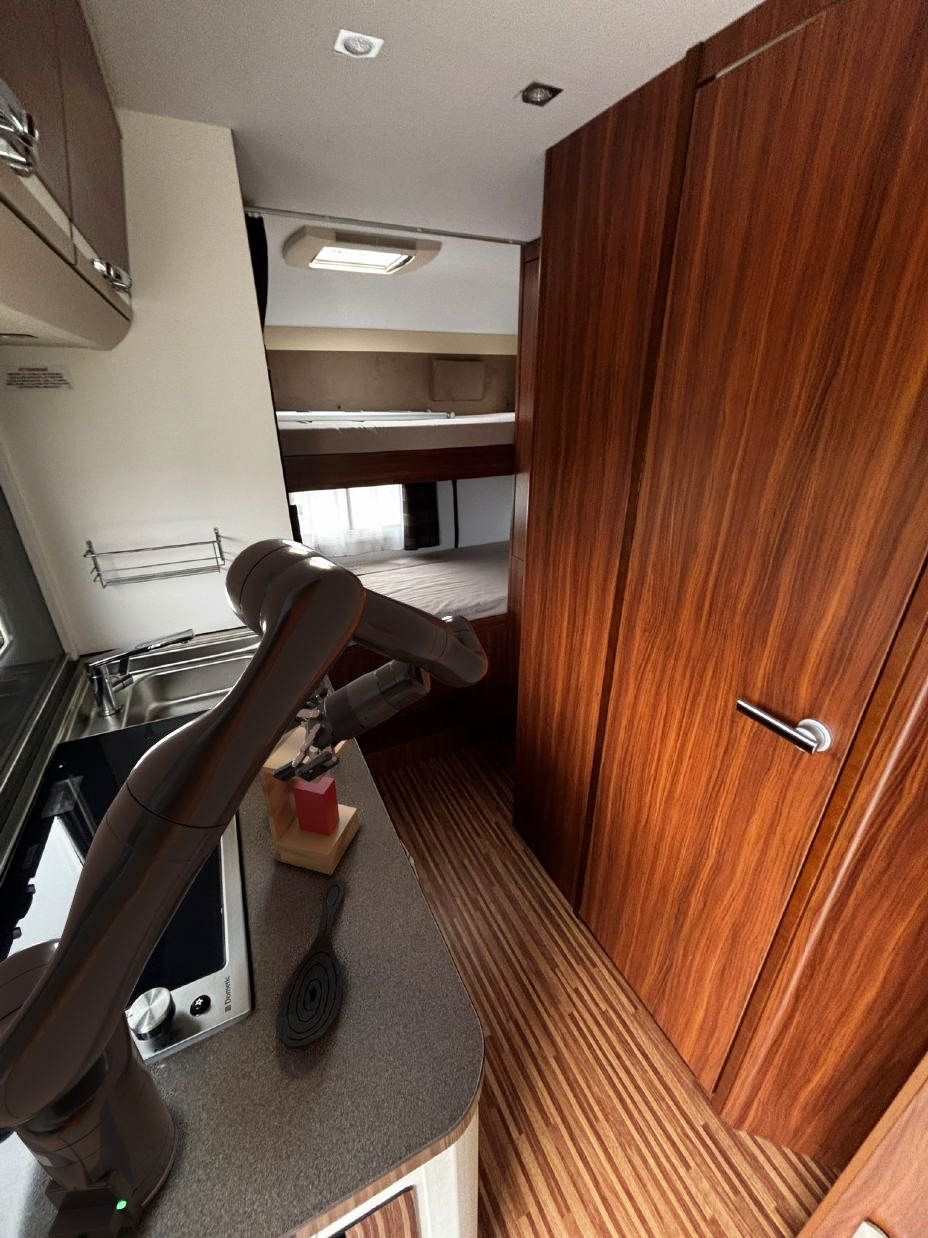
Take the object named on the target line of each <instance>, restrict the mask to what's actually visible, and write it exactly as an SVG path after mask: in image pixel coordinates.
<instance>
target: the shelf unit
mask: <svg viewBox="0 0 928 1238" xmlns="http://www.w3.org/2000/svg"><path fill="white" fill-rule="evenodd" d="M305 735H306V729H305V728H303V727H296V728H294V729H293V730H291V731H290V732H289V733H288V734H287V735H286V736H285V737H284V738H283V739H282V740H281V741H280V742H279V743H278V744H277V745H276V747H275V748H274V750H273V752H272V753H271V755H270V756H269V758H268V759H267V761H266V763H265V764H264V766H263V767H262V769H261V770H260V772H259V774H258V776H259V780H260V784H261V785H260V786H261V789H262V794H263V799H264V805H265V810H266V809H267V812H266V815H267V814H268V815H267V818H268V824H269V828H270V832H271V838H272V842H273V848H274V851H275V856H276V861H277V862H280V863H281V862H282V863H284V864H289V865H293V866H296V867H300V868H304V869H307V870H311V871H316V872H319V873H322V874H326V875H330V876H332V875H333V873H334V871H335V869H336V867H337V866H338V864H339V862H340V861H341V858H342V857H343V855H344V854H345V852H346V850H347V848H348V847H349V846H350V843H351V842H352V841H353V838H354V837H355V835H356V833H357V832H358V830H359V828H360V824H359V815H358V808H356V807H353V806H349V805H345V804H344V805H343V804H339V803H338V810H339V818H340V820H339V822H338V823H337V825H336V826H335V828H334V830H333V831H332V833H331V834H330V836H325V835H321V834H317V833H313V832H309V831H305V830H301V829H300V827H299V822H298V816H297V810H296V804H295V799H294V793H293V786H294V785H295V784H296V783H297V781H298V780H302V781H305V780H304V779H302V778H300V777H298V776H295V777H293V778H291V779H289V780H288V781H286V782H283V781H280V780H278V779H276V778H274V777H273V771H274V770H276V769H278V768H280V767H282V766H283V765H285V764H287V763H289V762H290V761H294V760H295V758H296V757H297V756H298V754H299V753H300V747H301V746H302V744H303V743H304V742H305ZM350 742H351V740H345V741H341V742H340V743H339V744H338V745H337V746H336V747H335V754H336V756H337V757H338V758H340V756H341V754H342V753H343V752H344V750H345V749H346V747H348V745H349V743H350ZM317 749H318V748H315V747H313V746H311V747H310V750H311V751H312V752H315V751H317ZM308 758H309V756H306V758H305V759H304V760H303V763H305V762H306V761H307V759H308ZM310 772H311V771H310ZM327 772H328V771H327ZM327 772H325V773H323V774H322V775H320V776H318V777H317V778H315V779H314V780H312V781H310V782H312V783H316V784H318V783H319V782H320V781H321V779H322V778H323V777H324V776H325V775H327Z"/></svg>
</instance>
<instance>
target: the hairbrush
mask: <svg viewBox="0 0 928 1238" xmlns="http://www.w3.org/2000/svg"><path fill="white" fill-rule="evenodd" d="M344 897H345V886H344V884H343V883H342V881H341V880H335V881H333V882H332V883H331V884H329V885H328V886H327V887H326V889H325V891H324V893H323V896H322V898H321V899H322V901H321V914H320V919H319V925H318V930H317V934H316V937H314V940H313V942H312V944H311V946H310V947H309V949H308V951H307V952H306V954H305V955H304V956H303V958H302V959H301V961H300V963H299V964H298V965H297V967H296V968H295V970H294V971H293V973H292V974H291V976H290V979H289V981H288V983H287V986H286V988H285V990H284V992H283V994H282V998H281V1000H280V1004H279V1007H278V1012H277V1016H276V1036H277V1038H278V1042H280V1044H281V1045H282V1046H284V1047H285V1048H286V1049H288V1050H297V1051H303V1050H304V1051H305V1050H307V1049H308V1048H310V1047H312V1046H314V1045H315V1044H317V1043H319V1042H320V1041H322V1040H324V1039H325V1038H326V1037H327V1035H328V1033H329V1032H330V1030H331V1029H332V1028H333V1026H334V1024H335V1023H336V1021H337V1020H338V1019H339V1014H340V1009H341V1006H342V999H343V998H342V997H343V993H344V982H343V981H344V980H343V975H342V974H343V973H342V969H341V964H340V962H339V958H338V957H337V956H338V955H337V954H336V950H335V949H334V947H333V942H332V937H331V935H332V932H333V928H334V924H335V920H336V916H337V914H338V912H339V910H340V907H342V904H343V902H344ZM314 991H316V995H315V997H314V999H313V1001H312V1002H311V996H312V994H313V992H314Z"/></svg>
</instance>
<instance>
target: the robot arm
mask: <svg viewBox="0 0 928 1238" xmlns="http://www.w3.org/2000/svg"><path fill="white" fill-rule="evenodd" d="M224 582H225V584H224V588H225V589H224V590H225V596H226V599H227V603H228V605H229V607H230V609H231V610H232V612H233V613H234V615H235V616H236V617H237V618H238V619H239V620H240V622H241V623H242V624H243V625H244V626H245V627H246V628H248V629H249V630H250V631H251V632H253V633H254V634H255V635H256V636H257V637H259V638H260V639H261V640H260V642H259V645H258V647H257V648H256V650H255V652H254V654H253V656H252V657H251V659H250V660H249V662H248V664H247V665H246V667H245V669H244V670H243V672H242V674H240V677H239V678H238V680H237V681H236V682H235V684H234V685H233V687H232V688H231V689H230V690H229V691H228V692H227V693H226V695H225V696H224V697H223V698H222V699H220V701H218V702H217V703H216V704H215V705H214V706H213V707H211V708H210V709H208V710H206V711H205V712H204V713H202V714H201V715H199V716H197V717H195V718H193V719H192V720H190V721H188V722H187V723H185V724H183V725H182V726H180V727H178V728H177V729H175V730H174V731H172V732H171V733H169V734H168V735H166V736H165V737H163V738H162V739H160V740H159V741H157V742H156V743H155V744H154V745H152V746H151V747H150V748H149V749H148V750H147V751H146V752H144V754H143V755H142V757H141V758H140V759H139V760H138V761H137V762H136V765H135V766H134V767H133V768H132V770H131V772H129V775H128V776H127V778H126V779H125V781H124V783H123V784H122V786H121V788H120V789H119V791H118V792H117V794H116V796H115V797H114V799H113V801H112V802H111V804H110V805H109V807H108V808H107V810H106V812H105V814H104V815H103V817H102V819H101V821H100V823H99V825H98V827H97V829H96V832H95V834H94V836H93V838H92V841H91V843H90V846H89V849H88V851H87V853H86V857H85V858H84V859H85V860H84V861H83V862H84V863H83V865H82V868H81V871H80V875H79V877H78V881H77V884H76V888H75V891H74V894H73V898H72V902H71V904H70V907H69V911H68V915H67V918H66V921H65V924H64V927H63V930H62V933H61V936H60V937H58V938H50V939H45V940H41V941H37V942H35V943H32V944H29V945H28V946H27V945H26V946H25V947H24V948H23V947H22V948H21V949H19V950H18V951H16V952H14V953H12V954H11V955H9V956H7V957H6V958H5V959H3V960H2V961H1V962H0V1129H5V1128H9V1127H12V1128H13V1130H14V1132H15V1134H16V1135H17V1137H18V1138H19V1139H20V1141H21V1142H22V1143H23V1145H25V1147H26V1148H27V1149H28V1150H29V1152H30V1153H31V1155H32V1156H33V1157H34V1158H35V1160H36V1161H37V1163H38V1164H39V1165H40V1167H41V1168H42V1169H43V1170H44V1172H45V1173H46V1174H47V1175H48V1177H49V1180H48V1183H47V1185H46V1187H45V1189H44V1197H46V1199H47V1200H48V1201H49V1202H50V1204H51V1205H52V1206H53V1207H54V1208H55V1209H56V1211H57V1213H56V1215H55V1217H54V1220H53V1221H52V1224H51V1226H50V1229H49V1231H48V1232H47V1237H48V1238H117V1237H118V1233H119V1231H120V1228H121V1229H122V1228H131V1227H135V1226H138V1224H139V1223H140V1220H141V1217H142V1214H143V1213H144V1210H145V1208H146V1207H147V1206H148V1205H149V1204H150V1203H151V1202H152V1200H153V1199H155V1197H156V1195H157V1194H158V1193H159V1191H160V1190H161V1188H162V1187H163V1186H164V1184H165V1182H166V1180H167V1178H168V1176H169V1174H170V1172H171V1170H172V1167H173V1164H174V1162H175V1159H176V1156H177V1155H176V1154H177V1151H178V1144H179V1131H178V1127H177V1123H176V1121H175V1118H174V1117H173V1115H172V1114H171V1112H170V1111H169V1109H168V1107H167V1105H166V1103H165V1101H164V1099H163V1098H162V1097H163V1096H162V1095H161V1093H160V1091H159V1089H158V1087H157V1085H156V1083H155V1080H154V1078H153V1077H152V1074H151V1072H150V1070H149V1068H148V1066H147V1064H146V1061H145V1060H144V1058H143V1055H142V1053H141V1051H140V1049H139V1047H138V1045H137V1043H136V1041H135V1038H134V1037H133V1034H132V1031H131V1028H130V1024H129V1019H128V1016H127V1012H126V1007H127V1005H128V1002H129V1001H130V998H131V996H132V994H133V992H134V990H135V988H136V985H137V984H138V982H139V980H140V977H141V975H142V972H143V971H144V969H145V968H146V965H147V963H148V961H149V959H150V957H151V955H152V953H153V952H154V950H155V948H156V946H157V944H158V943H159V941H160V939H161V938H162V936H163V934H164V933H165V931H166V929H167V928H168V926H169V925H170V923H171V921H172V919H173V917H174V916H175V914H176V912H177V910H178V909H179V907H180V905H181V904H182V902H183V901H184V898H185V897H186V895H187V893H188V891H189V890H190V888H191V886H192V884H193V883H194V881H195V880H196V878H197V876H198V875H199V873H200V871H201V870H202V869H203V867H204V865H205V864H206V863H207V861H208V860H209V858H210V856H211V855H212V853H213V851H214V850H215V849H216V847H217V845H218V844H219V842H220V840H221V839H222V837H223V835H224V834H225V832H226V830H227V829H228V827H229V825H230V823H231V822H232V820H233V819H234V817H235V815H236V814H237V812H238V811H239V808H240V807H241V804H242V803H243V801H244V799H245V797H246V795H247V794H248V792H249V790H250V788H251V787H252V785H253V783H254V782H255V780H256V779H257V777H258V776H259V772H260V770H261V769H262V767H263V766H264V764H265V763H266V761H267V759H268V758H269V756H270V755H271V753H272V752H273V750H274V748H275V747H276V745H277V744H278V742H279V741H280V739H281V738H282V736H283V734H286V733H288V732H289V731H291V730H293V729H294V728H296V727H298V726H300V725H301V722H304V723H305V729H306V735H305V742H304V743H303V744H302V746H301V747H300V753H299V754H298V756H297V757H296V758H295V760H294V761H290V762H289V763H287V764H285V765H283V766H282V767H280V768H278V769H276V770H274V771H273V777H274V778H276V779H278V780H280V781H283V782H286V781H288V780H289V779H291V778H293V777H295V776H298V777H300V778H302V779H304V780H305V781H307V782H310V781H312V780H314V779H315V778H317V777H318V776H320V775H322V774H323V773H325V772H328V771H330V770H332V769H333V768H335V767H336V766H338V765H339V764H340V762H341V758H340V757H337V756H336V754H335V747H336V746H337V745H338V744H339V743H340V742H341V741H345V740H350V741H351V740H353V739H355V738H357V737H358V736H361V735H362V734H364V733H366V732H368V731H370V730H371V729H373V728H375V727H376V726H378V725H380V724H382V723H383V722H385V721H388V719H390V718H391V717H394V715H395V714H397V713H398V712H400V711H402V710H403V709H405V708H406V707H408V706H410V705H412V704H414V703H416V702H418V701H419V700H421V699H423V698H424V697H426V696H428V694H429V693H430V691H431V679H430V678H431V677H430V676H432V678H434V679H436V680H437V681H438V682H439V683H441V684H443V685H446V686H449V687H452V688H468V687H471V686H474V685H476V684H477V683H479V682H480V681H481V680H482V679H483V678H484V677H485V675H486V674H487V671H488V667H489V660H488V657H487V654H486V652H485V649H484V648H483V645H482V644H481V641H480V640H479V637H478V636H477V634H476V632H475V629H474V628H473V626H472V624H471V622H470V621H469V619H468V618H467V617H466V616H463V615H461V614H450V615H445V616H443V617H439V616H437V615H436V614H433V613H431V612H428V611H426V610H423V609H421V608H419V607H417V606H414V605H411V604H409V603H406V602H403V601H401V600H398V599H395V598H393V597H390V596H387V595H385V594H383V593H379V592H377V591H375V590H372V589H370V588H367V587H365V585H364V584H363V582H362V581H361V579H360V578H359V576H357V574H355V573H354V572H353V571H351V570H350V569H349V568H347V567H345V566H343V565H342V564H341V563H338V562H336V561H334V560H333V559H331V558H329V557H327V556H326V555H324V554H322V553H321V552H319V551H317V550H315V549H314V548H311V547H310V546H308V545H306V544H303V543H301V542H298V541H295V540H292V539H286V538H266V539H263V540H259V541H256V542H255V543H252V544H250V545H248V546H247V547H246V548H244V549H243V550H242V551H240V552H239V553H238V554H237V556H236V557H235V558H234V559H233V561H232V563H231V564H230V566H229V567H228V570H227V572H226V576H225V581H224ZM351 642H352V643H354V644H356V645H359V646H361V647H363V648H365V649H367V650H370V651H372V652H373V653H376V654H378V655H381V656H383V657H385V658H387V659H390V660H391V661H389V662H387V663H385V664H384V665H382V666H380V667H378V668H377V669H375V670H373V671H370V672H368V673H365V674H363V675H361V676H360V677H358V678H356V679H355V680H353V681H351V682H349V683H347V684H346V685H344V686H343V687H341V688H339V689H337V690H336V691H334V692H333V691H332V690H330V689H329V688H328V687H327V686H325V685H322V686H320V685H321V683H322V682H323V681H324V679H325V678H326V676H327V675H328V673H329V672H330V671H331V670H332V668H333V667H334V665H335V664H336V663H337V661H338V660H339V659H340V658H341V656H342V655H343V653H344V651H345V650H346V649H347V647H348V646H349V644H350V643H351ZM319 686H320V687H319ZM311 746H313V747H315V748H318V749H317V751H315V752H312V751H311V750H310V747H311ZM306 756H309V758H308V759H307V761H306V762H305V763H303V760H304V759H305V758H306ZM310 771H311V772H310Z"/></svg>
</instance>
